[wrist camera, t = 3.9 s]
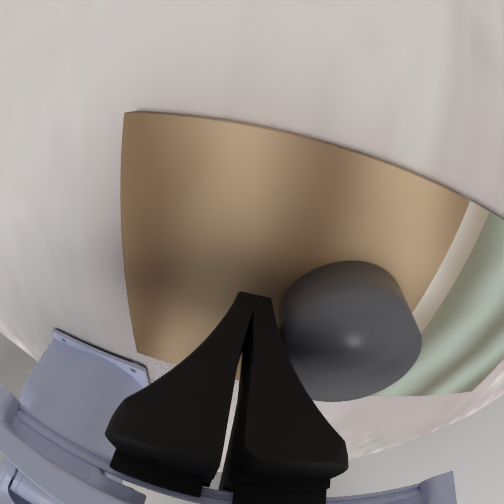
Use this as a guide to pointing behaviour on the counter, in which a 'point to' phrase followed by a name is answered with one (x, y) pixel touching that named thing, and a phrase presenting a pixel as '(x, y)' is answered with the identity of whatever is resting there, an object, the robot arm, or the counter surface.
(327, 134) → the counter surface
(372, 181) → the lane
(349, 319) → the puck
